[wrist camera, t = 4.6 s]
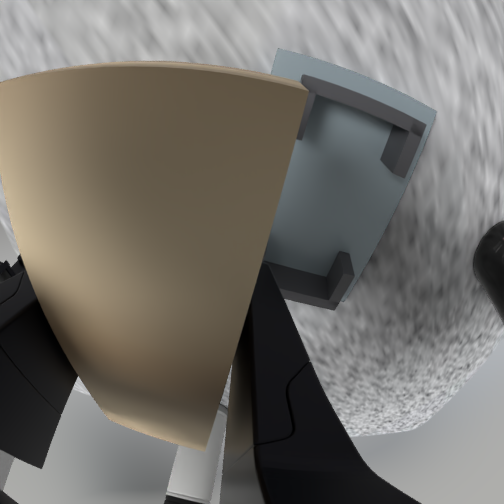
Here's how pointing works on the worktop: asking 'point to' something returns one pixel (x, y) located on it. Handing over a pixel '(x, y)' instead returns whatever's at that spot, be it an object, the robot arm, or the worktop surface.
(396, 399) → the worktop surface
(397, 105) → the board
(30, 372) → the robot arm
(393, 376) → the worktop surface
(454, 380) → the worktop surface
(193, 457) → the travel mug
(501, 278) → the supplement bottle
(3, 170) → the slat
